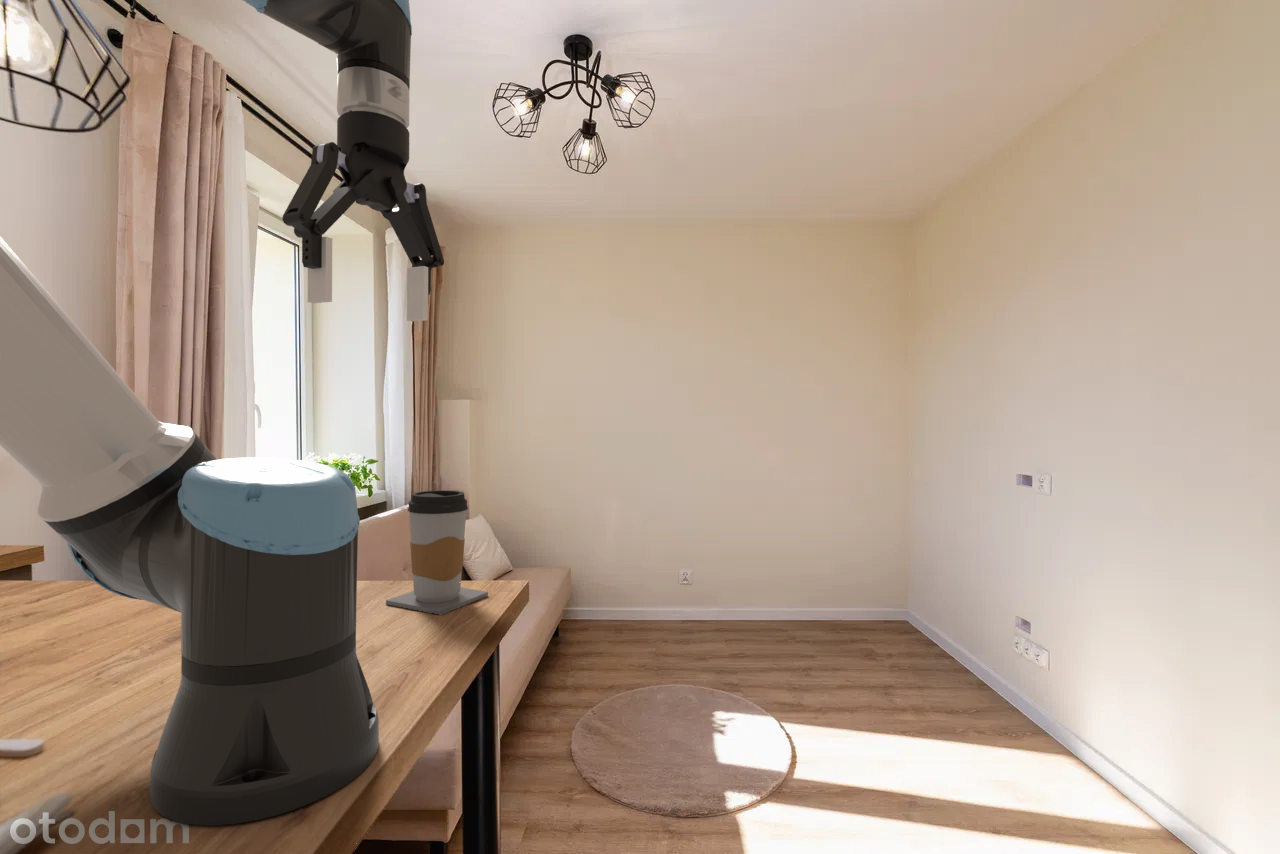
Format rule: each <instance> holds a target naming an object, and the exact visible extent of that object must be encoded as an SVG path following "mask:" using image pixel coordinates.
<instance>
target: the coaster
mask: <svg viewBox="0 0 1280 854" xmlns="http://www.w3.org/2000/svg"><path fill="white" fill-rule="evenodd" d="M488 596H489V592H488V591H484V590H480V589H479V590H478V589H473V588H468V587H467V588H466V587H460V592H459V593H458V596H457V597H456V598H455V599H452V600H449V601H444V602H435V603H428V602H421V601H418V600H417V599H416V596H415V595H414V590H412V591H410V592H406V593H404V594H400V595H397V596H395V597H392V598H389V599H386V600H385V605H386V604H387V606H391V605H393V606H392V607H396V606H398V607H397V608H401V607H403V608H402V609H406V608H408V609H407V610H412V609H413V610H412V611H417V610H418V612H422V611H423V612H422V613H427V612H428V614H432V613H434V614H433V615H437V614H439V615H438V616H441V614H442V615H445V614H447V613H449V612H448V611H450V612H451V610H452V611H454V610H456V608H457V609H459V608H461V606H462V607H464V606H467V605H469V604H472V603H473V601H474V602H476V600H477V601H479V600H481V599H484V598H487V597H488ZM471 602H472V603H471ZM468 603H469V604H468ZM466 604H467V605H466ZM458 607H459V608H458ZM446 612H447V613H446ZM444 613H445V614H444Z"/></svg>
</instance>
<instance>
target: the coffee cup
mask: <svg viewBox="0 0 1280 854" xmlns="http://www.w3.org/2000/svg"><path fill="white" fill-rule="evenodd" d="M410 498H411V499H410V501H408V502H407V503H408V508H407V512H408V515H409V532H410V557H411V558H410V562H411V573H412V581H413V582H412V583H413V591H414V595H415V596H416V599H417V600H418V601H421V602H428V603H435V602H444V601H449V600H452V599H455V598H456V597H457V596H458V593H459V592H460V587H461V585H462V584H461V583H462V575H463V574H462V573H463V564H464V554H465V553H464V552H465V542H466V541H465V540H466V539H465V538H466V537H465V532H466V519H467V518H466V517H467V510H468V509H469V508H468V507H469V506H468V500H467V499H466V497H465V492H463V491H460V490H447V489H445V490H442V489H441V490H427V491H426V490H425V491H418V492H413V493H411V497H410ZM459 582H461V583H459Z"/></svg>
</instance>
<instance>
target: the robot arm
mask: <svg viewBox="0 0 1280 854" xmlns="http://www.w3.org/2000/svg"><path fill="white" fill-rule="evenodd" d="M242 1H243V2H245V4H248V5H249V6H251V7H253V8H254V9H255V10H256V12H258V13H259V14H263V15H265V16H267V17H269V18H271V19H273V20H275V21H276V22H279V23H280V24H282V25H284V26H285V27H287V28H289V29H291V30H293V31H295V32H297V33H298V34H301V35H302V36H304V37H306V38H308V39H310V40H311V41H314V42H315V43H317V44H318V45H319V46H322V47H324V48H325V49H327V50H329V51H331V52H332V53H334V54H335V55H336V63H337V64H336V66H337V67H336V68H337V74H336V75H337V78H336V79H337V81H336V82H337V84H336V85H337V87H336V112H337V114H338V116H339V117H338V118H337V121H336V128H337V129H336V133H337V134H336V143H335V142H334V141H331V142H327V143H322V144H318V145H314V146H313V147H312V151H311V161H310V165H309V167H308V169H307V170H306V172H305V174H304V176H303V178H302V180H301V182H300V184H299V186H298V187H297V189H296V191H295V193H294V194H293V195H292V197H291V201H290V202H289V203H288V206H287V207H286V209H285V211H284V213H283V215H282V218H281V219H282V222H283V224H285V225H286V226H289V227H293V233H294V235H295V236H296V237H297V238H299V239H301V263H302V265H303V268H307V303H312V304H319V303H320V304H321V303H332V302H333V238H331V237H328V236H323V235H324V234H325V233H326V232H327V231H328V230H329V229H330V228H331V227H332V226H333V225H334V224H335V223H336V222H337V221H339V219H340V218H341V217H342V216H343V215H344V214H345V213H346V212H347V211H348V209H350V208H351V206H352V205H353V204H355V203H356V204H358V205H361V206H367V207H369V208H370V209H372V210H374V211H377V212H381V213H380V214H381V215H382V216H383V218H384V219H386V220H388V222H389V223H390V225H391V227H392V229H393V231H394V233H395V234H396V237H397V239H398V241H399V243H400V245H401V246H402V248H403V250H404V252H405V254H406V255H407V257H408V260H409V261H410V264H411V265H412V267H411V266H410V267H407V268H406V270H407V271H406V272H407V273H406V274H407V275H406V322H407V321H408V322H421V321H428V320H429V319H428V318H429V306H428V305H429V295H431V290H432V270H433V268H435V269H436V268H437V267H438V268H439V267H442V266H444V264H445V259H444V255H443V253H442V248H441V246H440V242H439V239H438V236H437V232H436V230H435V226H434V223H433V219H432V216H431V213H430V210H429V206H428V202H427V189H426V186H425V184H423V183H415V184H414V183H411V182H407V180H406V176H405V169H406V168H407V165H408V163H409V161H410V131H409V130H408V127H409V126H410V88H411V87H410V85H411V84H410V82H411V81H410V79H411V76H410V75H411V46H412V35H413V31H412V30H413V27H412V24H411V10H410V9H411V8H410V7H411V6H410V1H409V0H242ZM337 169H338V171H339V173H340V175H341V176H342V179H343V180H342V181H341V182H340V184H339V185H337V186H336V187H335V189H333V190H332V194H331V195H330V196H329V197H327V199H326V200H325V201H324V202H323V203H321V205H320V206H319V203H320V201H321V199H322V198H323V195H324V194H325V192H326V190H327V187H328V186H329V185H330V183H331V181H332V179H333V177H334V175H335V173H336V171H337ZM396 205H397V207H395V206H396ZM318 206H319V207H318ZM0 446H1V447H2V448H3V449H4V451H5V452H7V453H8V455H10V456H11V457H12V458H13V459H14V460H15V461H16V462H17V463H18V464H19V465H21V466H22V468H23V469H25V470H26V471H27V473H29V474H30V475H31V476H32V477H33V478H34V479H36V481H37V482H38V483H39V484H40V485H41V488H42V489H41V494H40V498H39V503H38V507H37V515H38V516H39V517H40V518H41V520H43V521H44V522H45V523H46V524H47V525H48V526H49V527H51V529H52V530H54V531H55V532H56V533H57V534H58V535H59V536H60V537H61V538H62V539H63V540H64V541H65V542H66V543H67V547H68V551H69V553H70V556H71V557H72V559H73V560H74V562H75V564H76V566H78V567H79V569H80V570H81V571H82V572H83V573H84V574H85V575H86V577H87V578H89V579H90V580H91V581H92V582H94V583H95V584H97V586H99V587H100V588H103V589H104V590H107V591H109V592H111V593H112V594H116V595H117V596H120V597H126V598H128V599H132V600H139V601H144V602H148V603H152V604H154V605H158V606H160V607H164V608H166V609H170V610H173V611H175V612H179V613H180V620H181V621H180V626H181V627H180V630H181V632H180V633H181V635H180V637H181V638H180V639H181V640H180V641H181V643H180V645H181V647H180V648H181V650H180V652H181V666H180V667H181V671H180V674H181V675H180V677H181V679H180V684H179V687H178V690H177V693H176V696H175V698H174V701H173V702H172V706H171V708H170V712H169V714H168V718H167V720H166V722H165V726H164V728H163V730H162V732H161V733H162V734H161V737H160V739H159V743H158V746H157V749H156V750H155V753H154V754H153V758H152V761H151V766H150V782H149V783H150V784H149V785H150V794H149V795H150V802H151V805H152V806H153V808H154V810H155V811H156V812H157V813H159V815H161V816H163V817H164V818H166V819H168V820H171V821H174V822H178V823H182V824H185V825H186V824H187V825H196V826H224V825H233V824H234V825H235V824H241V823H247V822H253V821H258V820H264V819H267V818H271V817H274V816H275V817H276V816H278V815H282V814H285V813H288V812H291V811H294V810H297V809H300V808H302V807H305V806H307V805H310V804H312V803H315V802H317V801H319V800H321V799H323V798H325V797H327V796H328V795H331V794H332V793H334V792H336V791H338V790H339V789H341V788H342V787H344V786H346V785H348V784H349V783H350V782H352V781H353V780H355V778H357V777H358V776H360V775H361V773H362V772H364V770H365V769H367V768H368V766H369V765H370V764H371V763H372V761H373V760H374V758H375V757H376V755H377V752H378V749H379V741H380V740H379V739H380V738H379V735H380V733H379V732H380V731H379V729H380V728H379V727H380V726H379V725H380V721H379V714H378V710H377V707H376V705H375V704H374V701H373V697H372V695H371V692H370V689H369V686H368V685H369V684H368V682H367V680H366V677H365V675H364V672H363V668H362V666H361V663H360V660H359V658H358V655H357V654H358V653H357V599H358V598H357V597H358V596H357V594H358V591H357V590H358V589H357V588H358V545H359V544H358V539H359V538H358V537H359V527H360V524H361V523H360V520H361V519H360V516H359V512H358V502H357V491H356V486H355V484H354V482H353V480H352V479H351V477H350V476H349V475H348V474H346V473H345V472H343V470H340V469H338V468H336V467H333V466H330V465H327V464H324V463H320V462H313V461H308V460H302V459H296V460H293V459H292V460H291V459H286V458H279V457H254V456H253V457H232V458H231V457H230V458H229V457H228V458H221V459H220V458H219V459H218V458H217V457H216V456H215V455H214V454H213V452H211V450H210V449H209V448H208V447H207V445H206V444H205V443H204V441H202V439H201V438H200V437H199V436H198V434H197V433H196V432H195V431H194V430H193V429H192V427H189V426H187V425H180V424H174V423H167V422H162V421H160V420H158V419H157V417H155V415H154V414H153V413H152V412H151V410H150V409H148V407H147V406H146V405H145V404H144V402H143V401H142V400H141V399H140V398H139V396H137V394H136V393H135V392H134V391H133V389H131V387H130V386H129V385H128V384H127V383H126V381H125V380H124V379H123V378H122V377H121V376H120V375H119V373H118V372H117V371H116V370H115V368H114V367H113V366H112V365H111V364H110V362H109V361H107V359H106V358H105V357H104V355H102V353H101V352H100V351H99V350H98V349H97V347H96V346H95V345H94V344H93V342H91V341H90V339H89V338H88V337H87V336H86V335H85V333H84V332H83V331H82V330H81V329H80V328H79V326H78V325H77V324H76V323H75V322H74V321H73V319H72V318H71V317H70V316H69V314H68V313H67V312H66V311H65V310H64V309H63V307H61V305H60V304H59V303H58V302H57V301H56V299H55V297H53V296H52V295H51V294H50V292H48V290H47V289H46V288H45V286H44V285H43V284H42V283H41V282H40V281H39V280H38V278H37V277H36V276H35V275H34V273H33V272H31V270H30V269H29V268H28V266H27V265H25V263H24V262H23V261H22V259H21V258H19V256H18V255H17V253H15V251H13V249H12V248H11V247H10V246H9V244H7V242H6V241H5V240H4V239H3V237H2V236H1V235H0Z"/></svg>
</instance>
